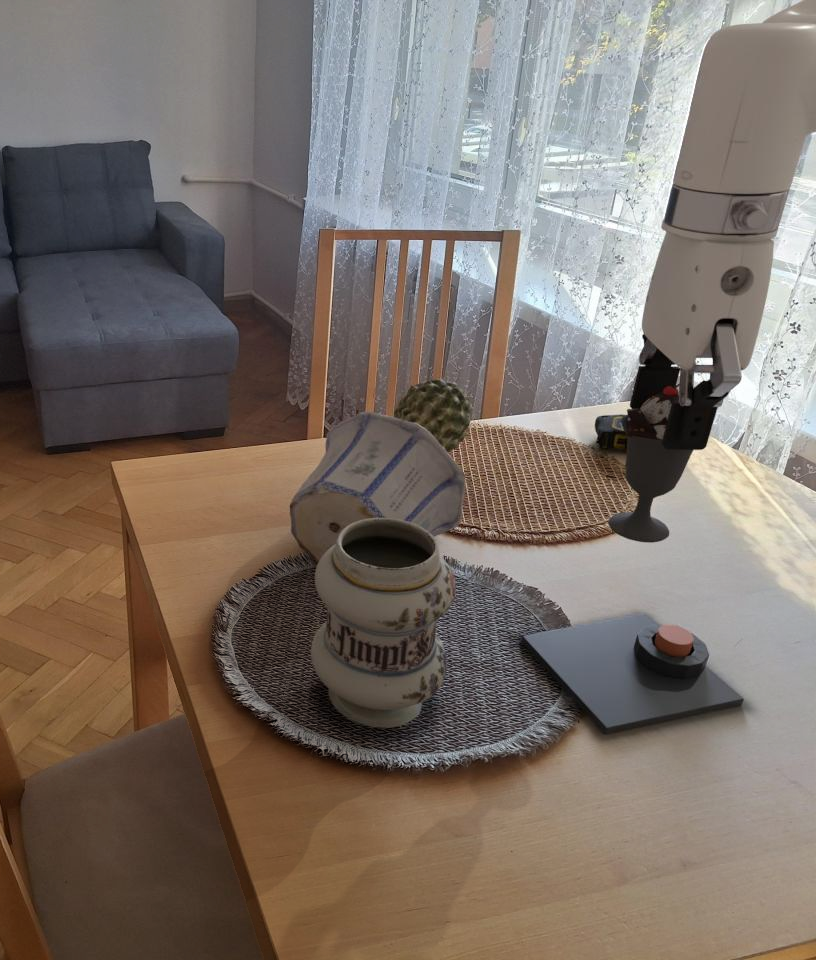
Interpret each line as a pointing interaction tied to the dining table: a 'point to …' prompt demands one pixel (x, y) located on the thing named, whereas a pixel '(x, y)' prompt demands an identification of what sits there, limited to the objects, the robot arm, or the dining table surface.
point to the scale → (629, 673)
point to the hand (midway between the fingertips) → (665, 426)
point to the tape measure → (611, 432)
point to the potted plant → (388, 469)
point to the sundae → (649, 467)
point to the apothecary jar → (382, 620)
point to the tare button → (674, 640)
